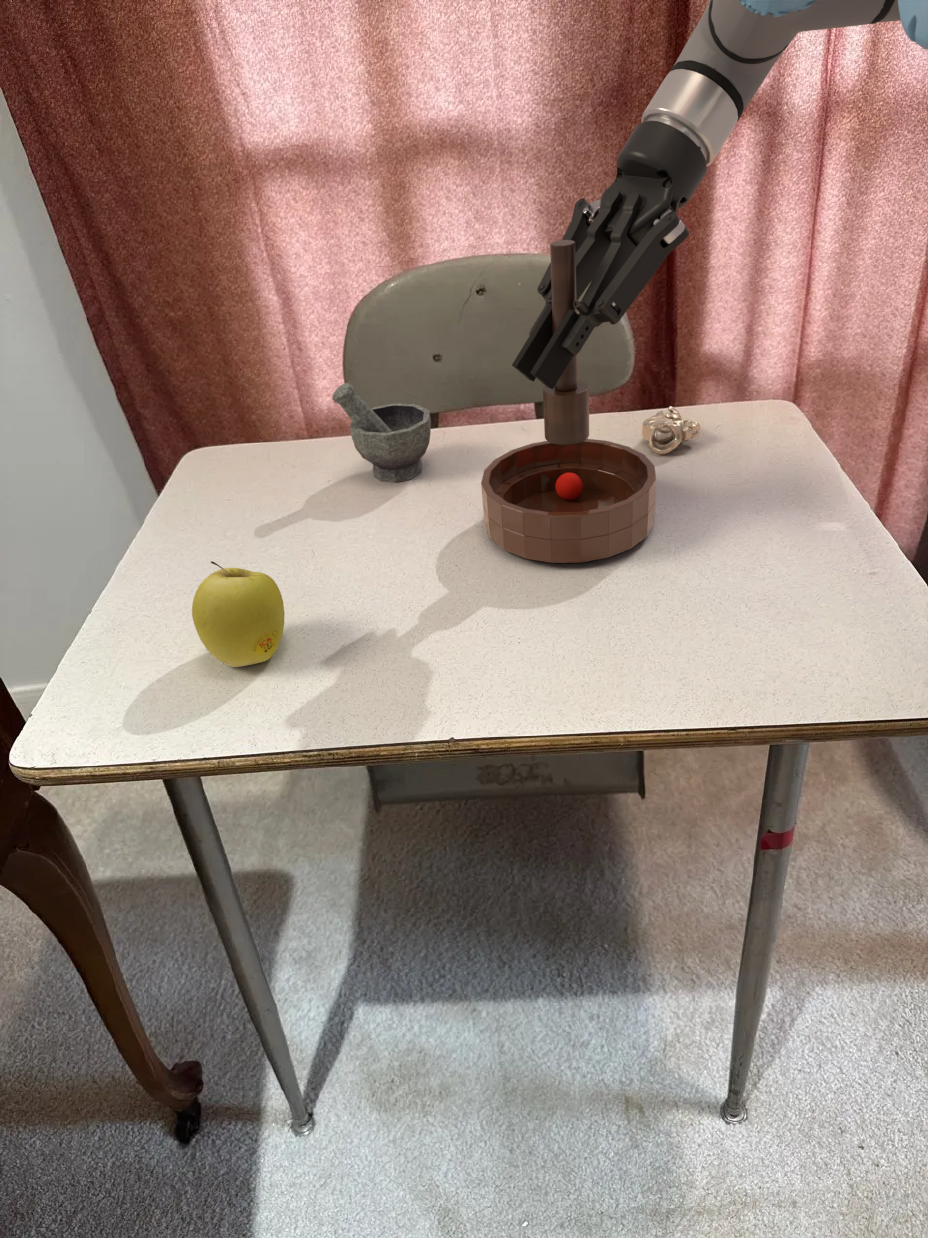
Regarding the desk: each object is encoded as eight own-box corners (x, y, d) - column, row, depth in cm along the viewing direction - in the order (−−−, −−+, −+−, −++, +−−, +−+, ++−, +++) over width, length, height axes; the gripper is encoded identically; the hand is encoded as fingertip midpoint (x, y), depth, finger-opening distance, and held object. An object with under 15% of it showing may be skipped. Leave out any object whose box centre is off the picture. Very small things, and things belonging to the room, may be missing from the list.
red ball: (583, 504, 91) (582, 479, 89) (555, 505, 91) (554, 480, 90) (583, 491, 93) (583, 467, 92) (556, 492, 94) (555, 468, 92)
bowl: (658, 568, 81) (661, 514, 77) (477, 570, 83) (472, 517, 80) (648, 485, 95) (650, 435, 91) (494, 489, 98) (490, 441, 94)
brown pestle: (589, 444, 81) (588, 246, 71) (543, 445, 82) (536, 250, 71) (589, 426, 85) (588, 235, 74) (545, 427, 85) (538, 238, 75)
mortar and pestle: (426, 448, 108) (414, 357, 102) (446, 477, 101) (435, 380, 94) (341, 467, 106) (323, 374, 99) (355, 497, 99) (337, 400, 92)
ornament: (699, 456, 99) (701, 428, 97) (640, 456, 101) (641, 428, 99) (698, 429, 106) (700, 401, 104) (642, 429, 107) (643, 402, 105)
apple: (231, 689, 70) (186, 579, 66) (204, 669, 76) (163, 568, 73) (315, 650, 73) (277, 544, 70) (283, 634, 80) (246, 536, 77)
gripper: (758, 180, 72) (608, 419, 75) (636, 168, 83) (509, 377, 86) (720, 117, 67) (559, 376, 70) (595, 113, 77) (461, 338, 81)
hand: (532, 376), depth 78 cm, fingers closed on brown pestle, 2 cm apart
